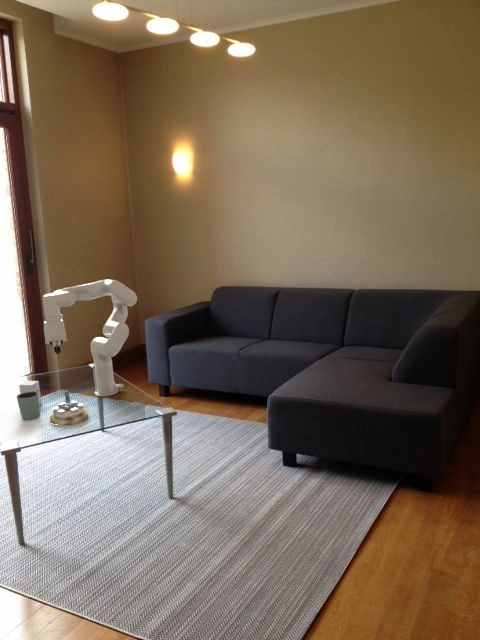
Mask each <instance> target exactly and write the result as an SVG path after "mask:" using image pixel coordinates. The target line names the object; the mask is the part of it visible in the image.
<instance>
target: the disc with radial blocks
mask: <svg viewBox="0 0 480 640" xmlns="http://www.w3.org/2000/svg"><path fill="white" fill-rule="evenodd" d="M64 397H65V402H60V403H58V404H57V405H58V406H55V407H54V406H53V407H52V414H54V418H55V419H58V420H68V419H73V418H76V417H79V416H81V415H82V414H83V409H84V406H83V405H84V404H83V403H81V402H80V403H79V401H77V400H71V399H70V390H67V389H66V390H65V391H64Z"/></svg>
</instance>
